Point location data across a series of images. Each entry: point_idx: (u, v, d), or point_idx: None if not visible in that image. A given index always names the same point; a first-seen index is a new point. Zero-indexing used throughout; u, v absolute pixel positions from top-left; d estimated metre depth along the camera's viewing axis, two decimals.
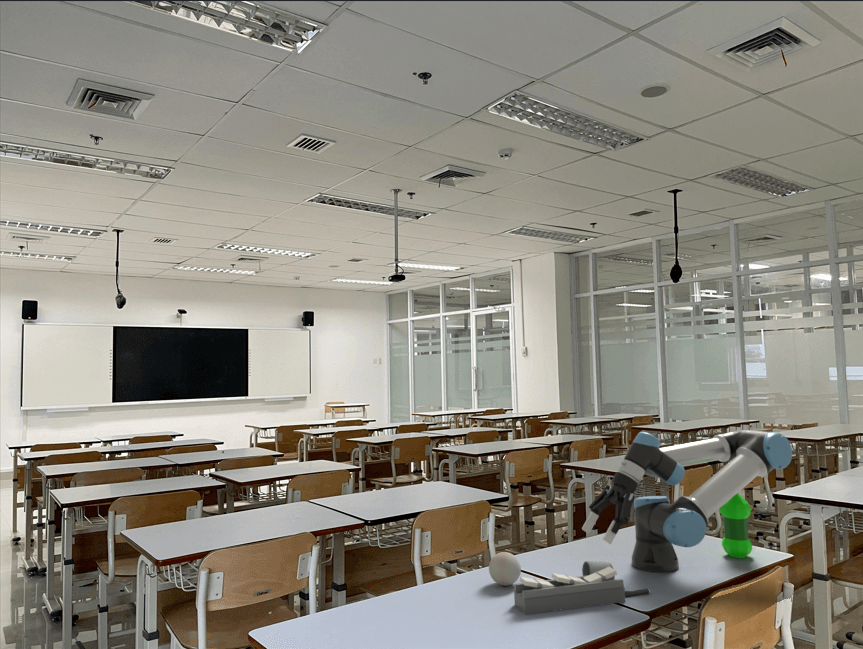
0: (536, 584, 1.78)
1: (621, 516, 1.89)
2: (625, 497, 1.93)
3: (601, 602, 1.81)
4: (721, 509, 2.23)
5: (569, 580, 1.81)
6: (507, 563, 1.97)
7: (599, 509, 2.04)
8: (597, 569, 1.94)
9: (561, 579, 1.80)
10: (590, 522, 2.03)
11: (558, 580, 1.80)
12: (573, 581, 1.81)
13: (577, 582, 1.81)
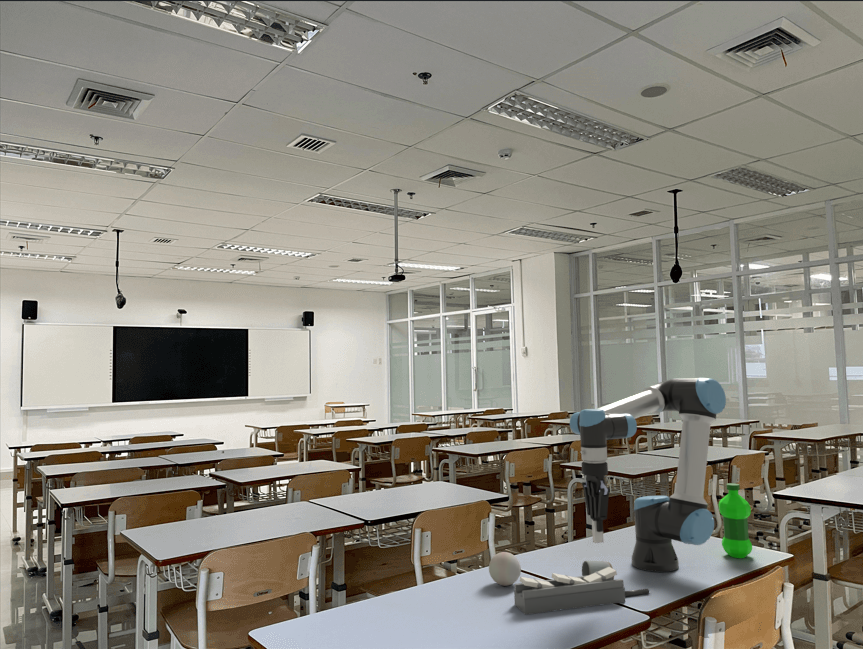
0: (536, 584, 1.78)
1: (598, 515, 1.83)
2: (600, 493, 1.82)
3: (601, 602, 1.81)
4: (721, 509, 2.23)
5: (569, 580, 1.81)
6: (507, 563, 1.97)
7: None
8: (596, 569, 1.94)
9: (561, 579, 1.80)
10: None
11: (558, 580, 1.80)
12: (573, 581, 1.81)
13: (577, 582, 1.81)
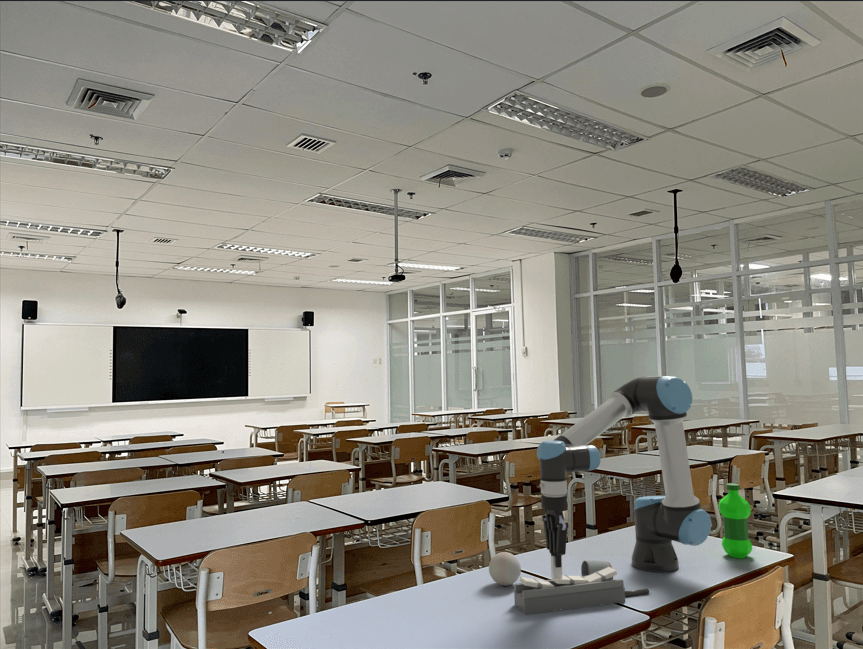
0: (536, 584, 1.78)
1: (557, 550, 1.79)
2: (558, 529, 1.78)
3: (601, 602, 1.81)
4: (721, 509, 2.23)
5: (569, 580, 1.81)
6: (507, 563, 1.97)
7: None
8: (596, 568, 1.95)
9: (561, 581, 1.80)
10: None
11: (558, 582, 1.80)
12: (573, 581, 1.81)
13: (577, 581, 1.82)
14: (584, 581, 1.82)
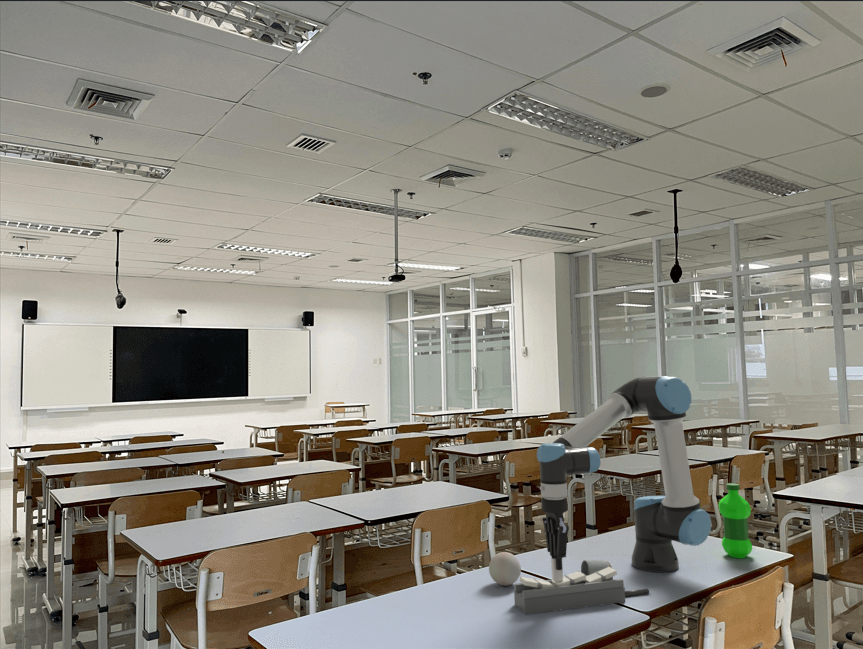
0: (536, 584, 1.78)
1: (557, 553, 1.79)
2: (558, 531, 1.78)
3: (601, 602, 1.81)
4: (721, 509, 2.23)
5: (569, 581, 1.81)
6: (507, 563, 1.97)
7: None
8: (595, 568, 1.95)
9: (561, 585, 1.80)
10: None
11: None
12: (573, 580, 1.81)
13: (577, 579, 1.82)
14: (583, 577, 1.82)
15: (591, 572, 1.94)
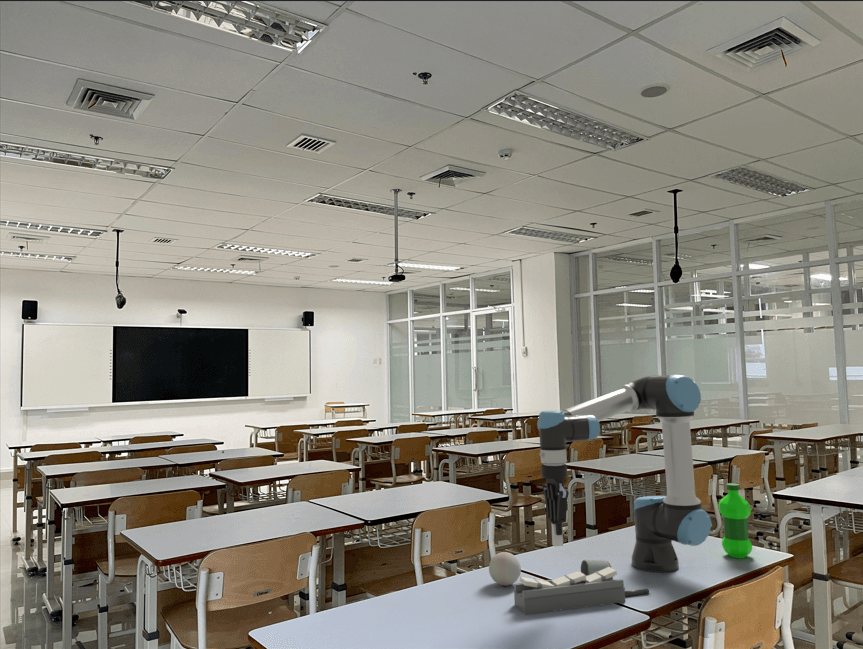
0: (536, 584, 1.78)
1: (557, 518, 1.81)
2: (558, 496, 1.80)
3: (601, 602, 1.81)
4: (721, 509, 2.23)
5: (569, 581, 1.81)
6: (507, 563, 1.97)
7: None
8: (595, 567, 1.95)
9: (561, 585, 1.80)
10: None
11: None
12: (573, 580, 1.81)
13: (577, 579, 1.82)
14: (583, 577, 1.82)
15: (591, 572, 1.94)
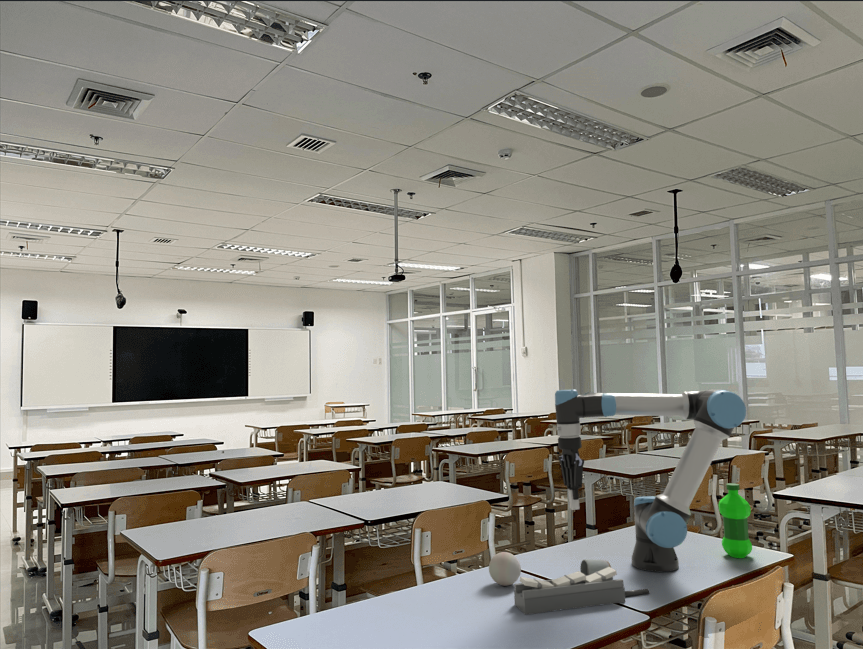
0: (536, 584, 1.78)
1: (574, 484, 2.03)
2: (575, 465, 2.02)
3: (601, 602, 1.81)
4: (721, 509, 2.23)
5: (569, 581, 1.81)
6: (507, 563, 1.97)
7: None
8: (595, 567, 1.96)
9: (561, 585, 1.80)
10: None
11: None
12: (573, 580, 1.81)
13: (577, 579, 1.82)
14: (583, 577, 1.82)
15: (590, 571, 1.95)
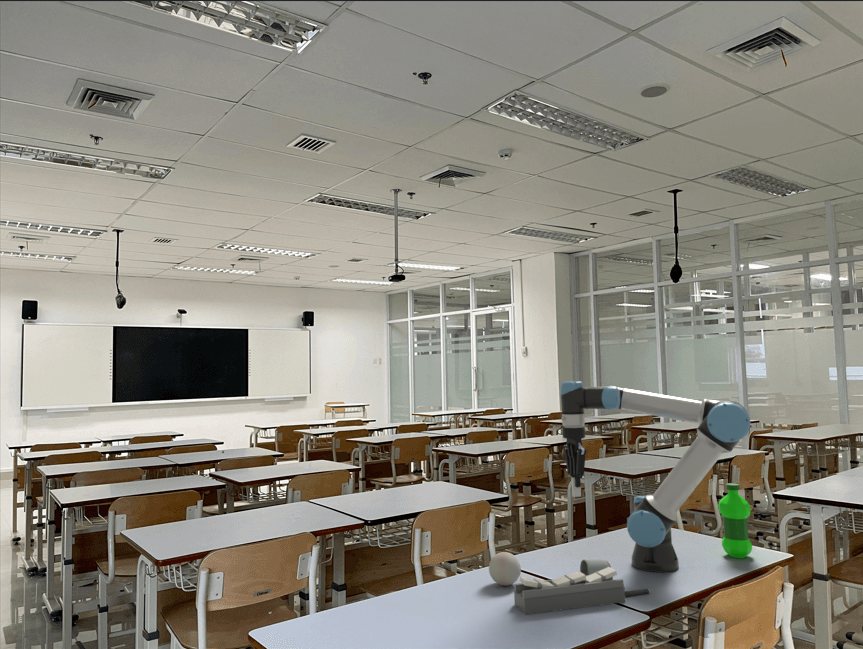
0: (536, 584, 1.78)
1: (576, 472, 2.12)
2: (578, 453, 2.11)
3: (601, 602, 1.81)
4: (721, 509, 2.24)
5: (569, 581, 1.81)
6: (507, 563, 1.97)
7: None
8: (595, 567, 1.96)
9: (561, 585, 1.80)
10: None
11: None
12: (573, 580, 1.81)
13: (577, 579, 1.82)
14: (583, 577, 1.82)
15: (590, 571, 1.95)
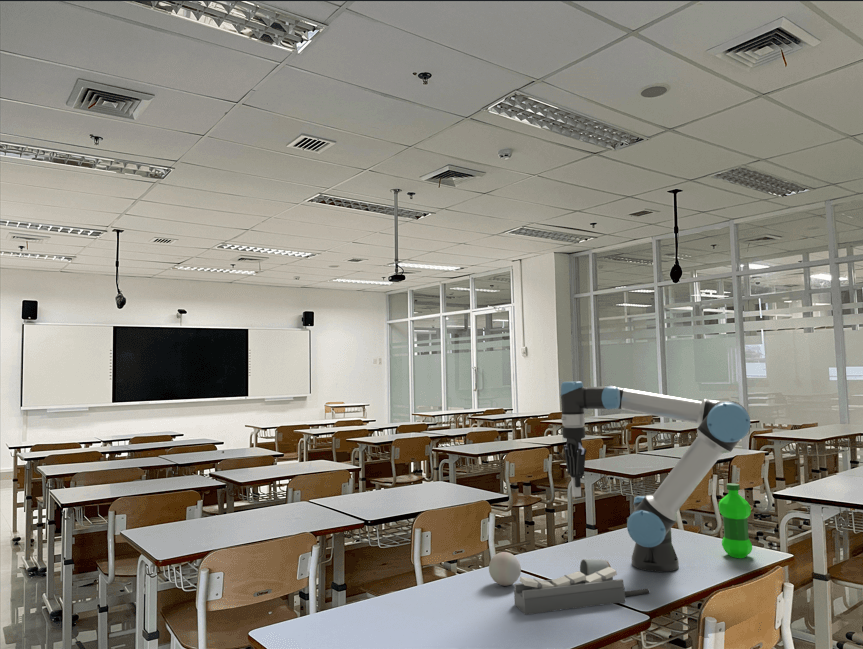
0: (536, 584, 1.78)
1: (576, 472, 2.12)
2: (578, 453, 2.11)
3: (601, 602, 1.81)
4: (721, 509, 2.23)
5: (569, 581, 1.81)
6: (507, 563, 1.97)
7: None
8: (594, 567, 1.96)
9: (561, 585, 1.80)
10: None
11: None
12: (573, 580, 1.81)
13: (577, 579, 1.82)
14: (583, 577, 1.82)
15: (590, 571, 1.95)
